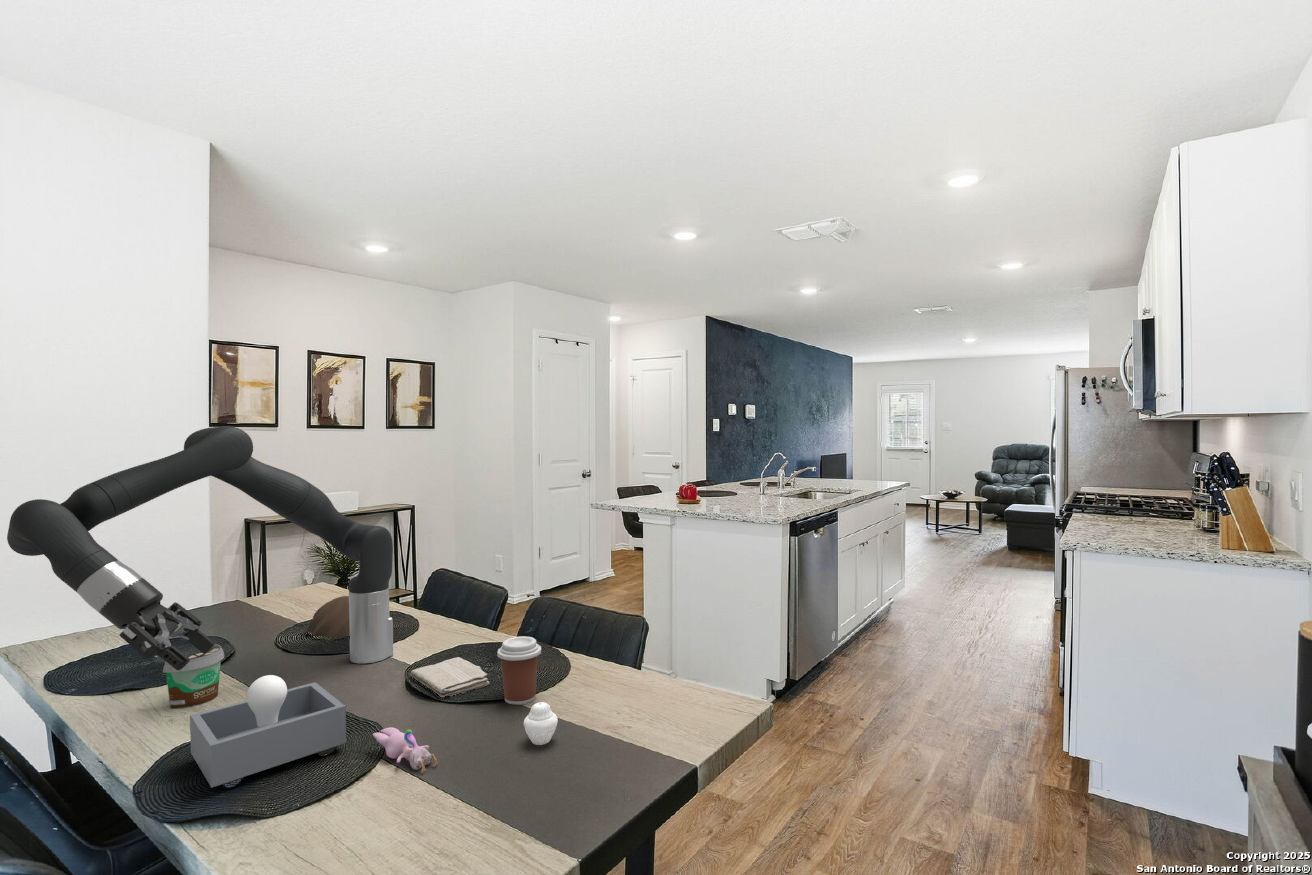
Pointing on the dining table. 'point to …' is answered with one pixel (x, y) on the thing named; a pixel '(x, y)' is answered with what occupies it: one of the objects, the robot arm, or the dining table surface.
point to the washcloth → (451, 677)
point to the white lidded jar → (540, 723)
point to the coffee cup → (519, 669)
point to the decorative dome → (331, 619)
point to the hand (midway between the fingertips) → (198, 657)
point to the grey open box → (266, 734)
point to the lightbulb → (266, 699)
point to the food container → (195, 679)
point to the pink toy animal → (404, 747)
